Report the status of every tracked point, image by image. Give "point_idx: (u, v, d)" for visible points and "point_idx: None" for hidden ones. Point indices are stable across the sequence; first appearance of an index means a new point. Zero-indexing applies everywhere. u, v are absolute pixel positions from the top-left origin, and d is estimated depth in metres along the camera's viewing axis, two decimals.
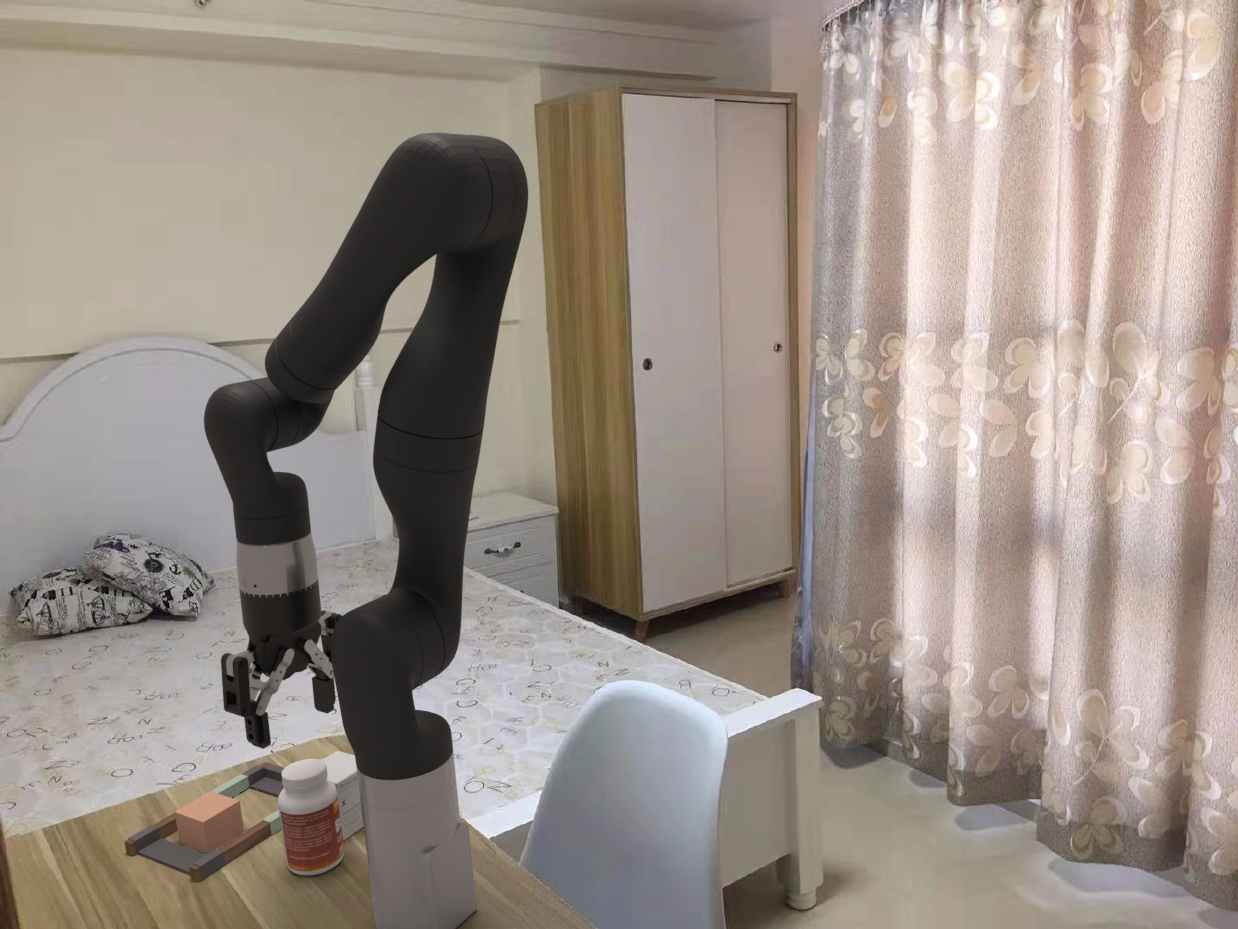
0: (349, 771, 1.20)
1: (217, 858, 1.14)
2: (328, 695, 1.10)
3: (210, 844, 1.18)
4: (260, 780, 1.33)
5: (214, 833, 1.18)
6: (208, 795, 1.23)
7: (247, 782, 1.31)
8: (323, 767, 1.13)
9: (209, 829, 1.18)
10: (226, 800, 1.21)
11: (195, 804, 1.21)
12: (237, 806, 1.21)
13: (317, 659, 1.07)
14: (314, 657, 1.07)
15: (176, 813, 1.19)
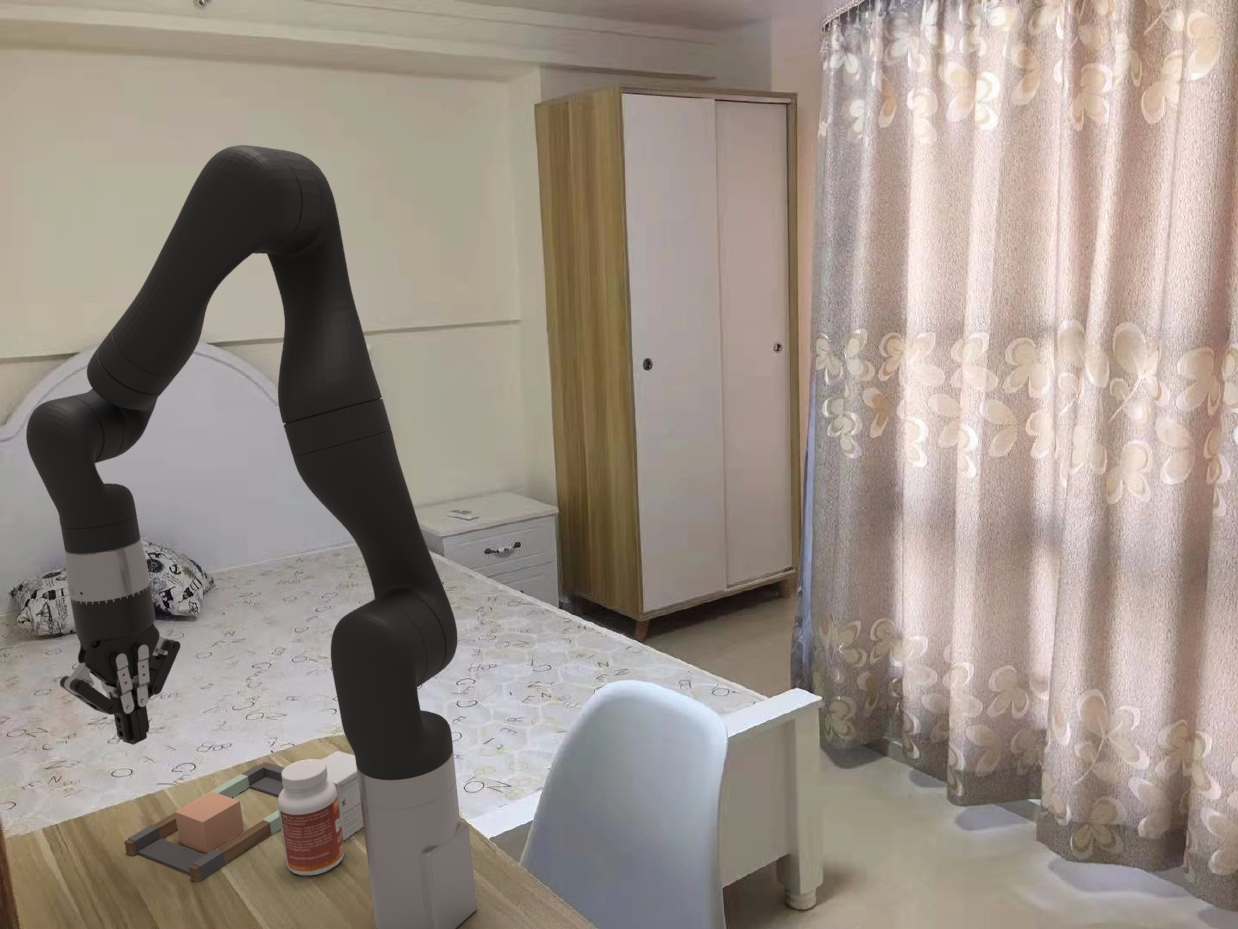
0: (349, 771, 1.20)
1: (217, 858, 1.14)
2: (139, 723, 1.11)
3: (210, 844, 1.18)
4: (260, 780, 1.33)
5: (214, 834, 1.18)
6: (208, 795, 1.23)
7: (247, 782, 1.31)
8: (323, 767, 1.13)
9: (209, 829, 1.18)
10: (226, 800, 1.21)
11: (195, 804, 1.21)
12: (237, 806, 1.21)
13: (140, 672, 1.10)
14: (139, 667, 1.10)
15: (176, 813, 1.19)
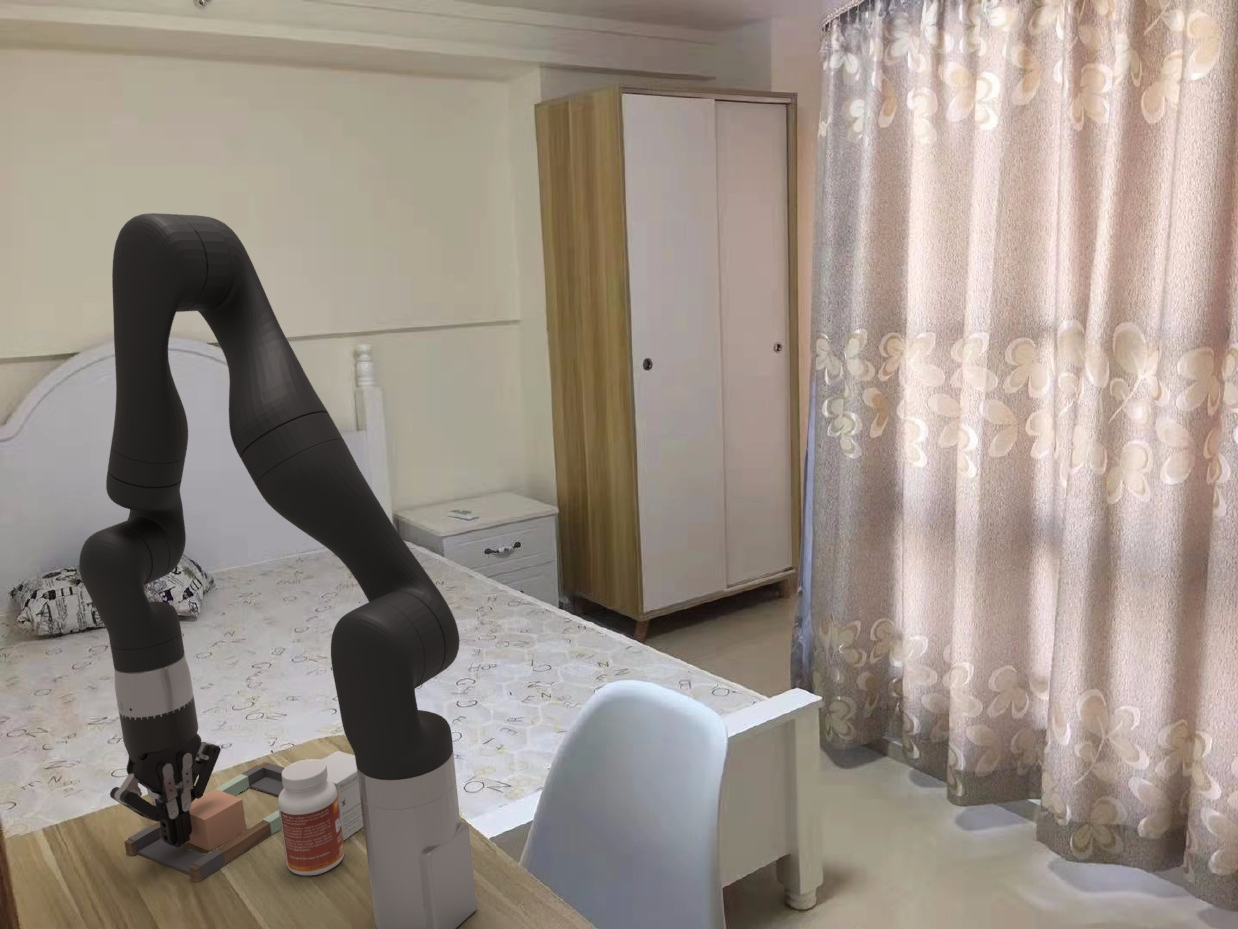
0: (350, 770, 1.20)
1: (217, 858, 1.14)
2: (183, 827, 1.17)
3: (212, 842, 1.18)
4: (260, 780, 1.33)
5: (216, 831, 1.19)
6: (212, 793, 1.23)
7: (247, 782, 1.31)
8: (323, 767, 1.13)
9: (211, 827, 1.18)
10: (229, 798, 1.22)
11: (198, 801, 1.21)
12: (240, 804, 1.21)
13: (185, 779, 1.16)
14: (183, 775, 1.15)
15: None
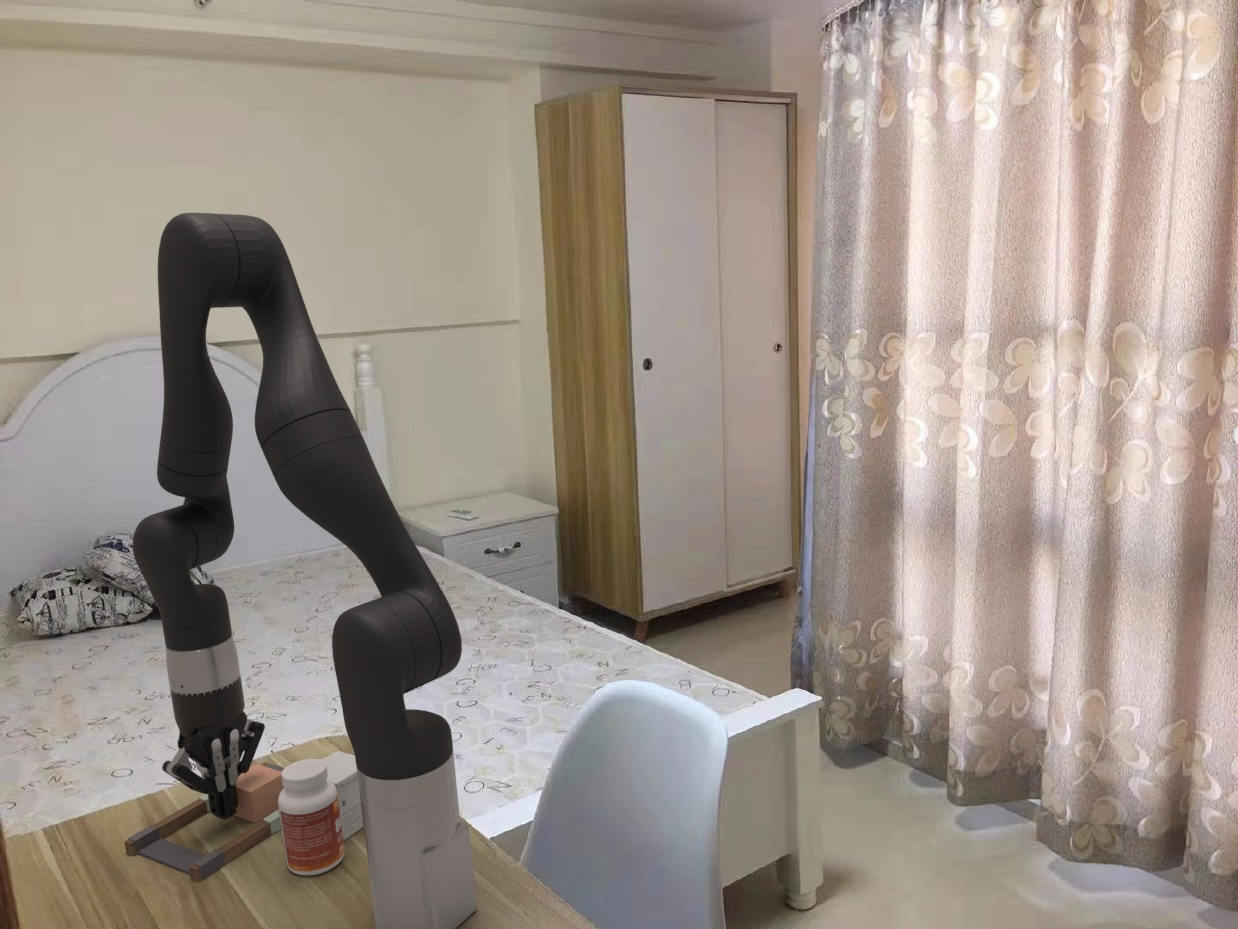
0: (350, 771, 1.20)
1: (217, 858, 1.14)
2: (230, 800, 1.22)
3: (257, 813, 1.24)
4: None
5: (261, 803, 1.24)
6: (254, 767, 1.28)
7: None
8: (323, 767, 1.13)
9: (256, 799, 1.23)
10: (272, 772, 1.27)
11: (242, 775, 1.27)
12: None
13: (232, 754, 1.21)
14: (231, 750, 1.21)
15: None
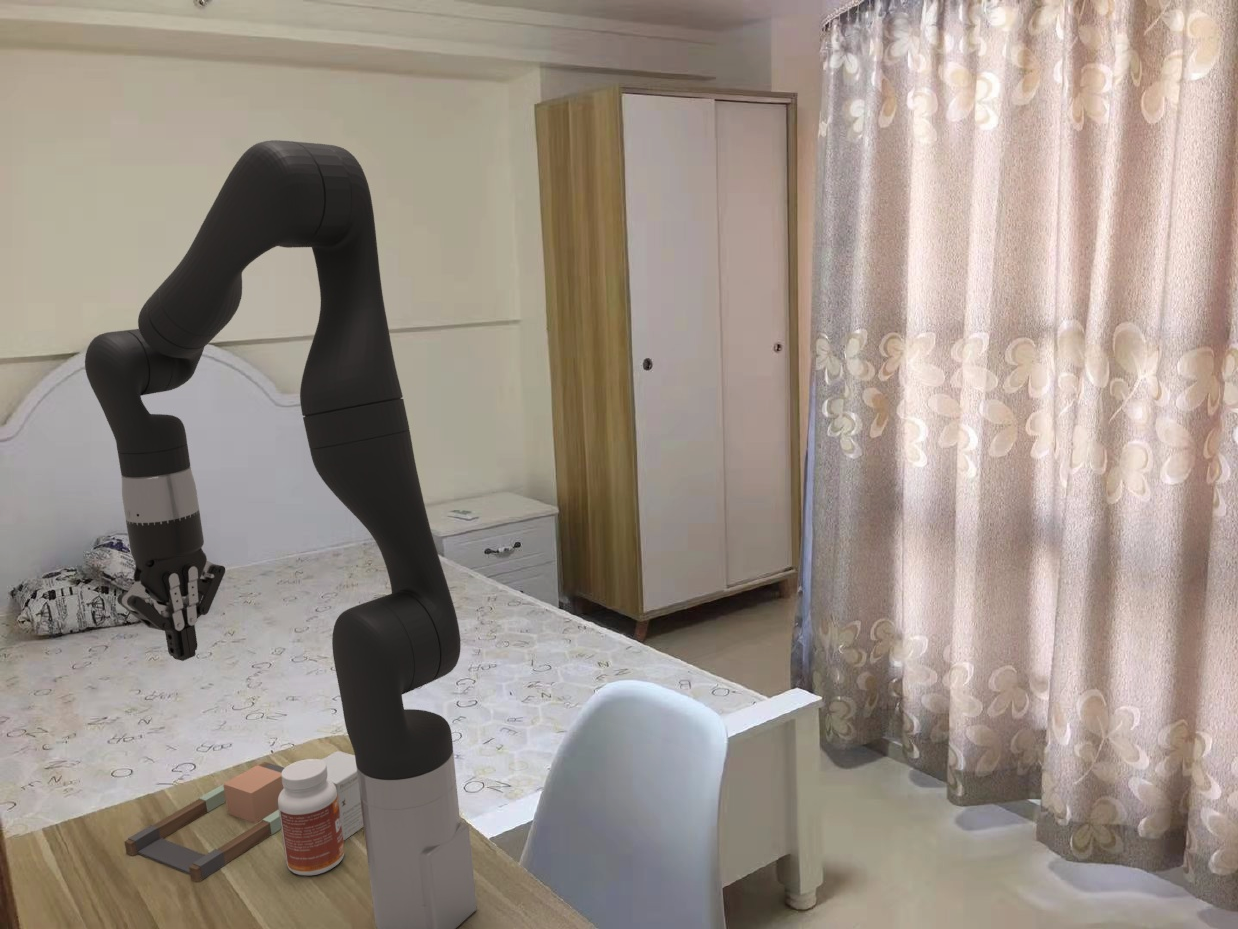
0: (350, 771, 1.20)
1: (217, 858, 1.14)
2: (188, 641, 1.19)
3: (257, 814, 1.24)
4: None
5: (261, 804, 1.24)
6: (254, 768, 1.28)
7: None
8: (323, 767, 1.13)
9: (256, 800, 1.23)
10: (272, 773, 1.27)
11: (242, 776, 1.27)
12: None
13: (190, 592, 1.18)
14: (189, 588, 1.17)
15: (225, 785, 1.25)
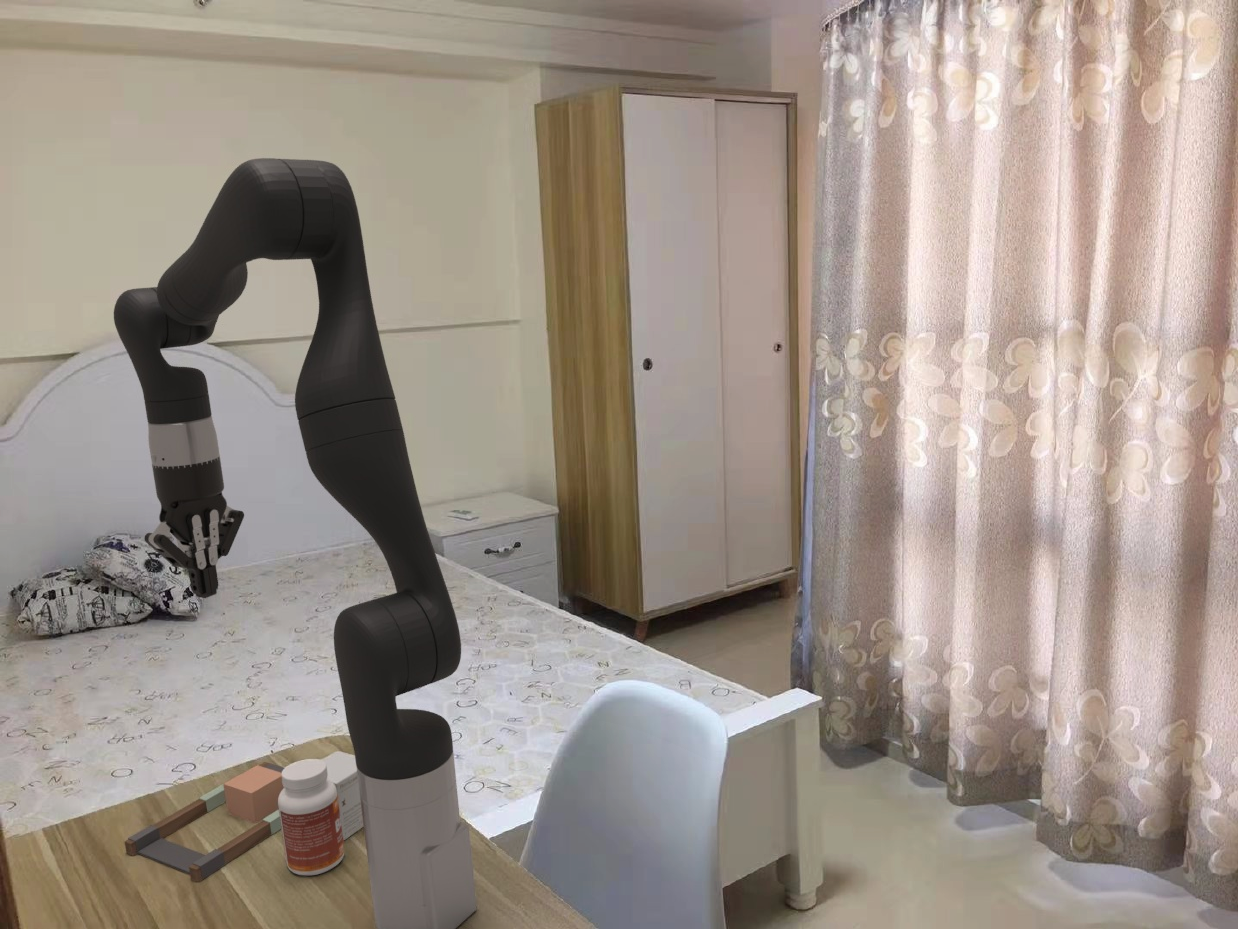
0: (349, 771, 1.20)
1: (217, 858, 1.14)
2: (210, 579, 1.27)
3: (257, 814, 1.24)
4: None
5: (261, 804, 1.24)
6: (254, 768, 1.28)
7: None
8: (323, 767, 1.13)
9: (256, 800, 1.23)
10: (272, 773, 1.27)
11: (242, 776, 1.27)
12: None
13: (212, 533, 1.26)
14: (211, 529, 1.26)
15: (225, 785, 1.25)
